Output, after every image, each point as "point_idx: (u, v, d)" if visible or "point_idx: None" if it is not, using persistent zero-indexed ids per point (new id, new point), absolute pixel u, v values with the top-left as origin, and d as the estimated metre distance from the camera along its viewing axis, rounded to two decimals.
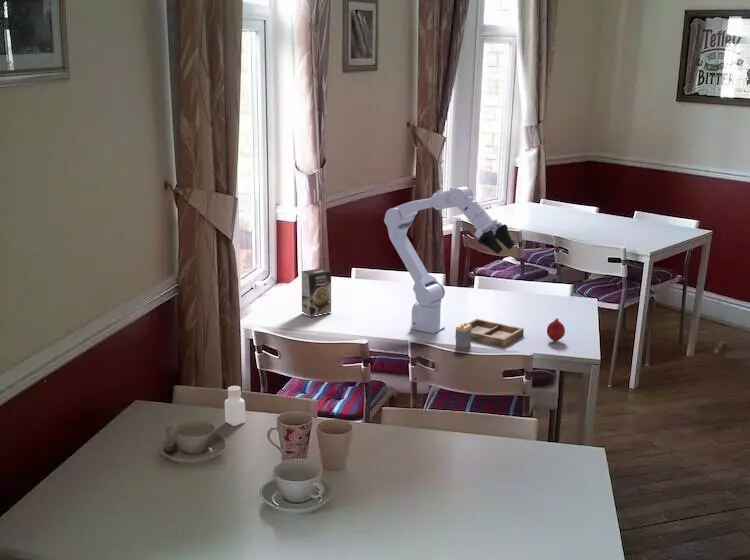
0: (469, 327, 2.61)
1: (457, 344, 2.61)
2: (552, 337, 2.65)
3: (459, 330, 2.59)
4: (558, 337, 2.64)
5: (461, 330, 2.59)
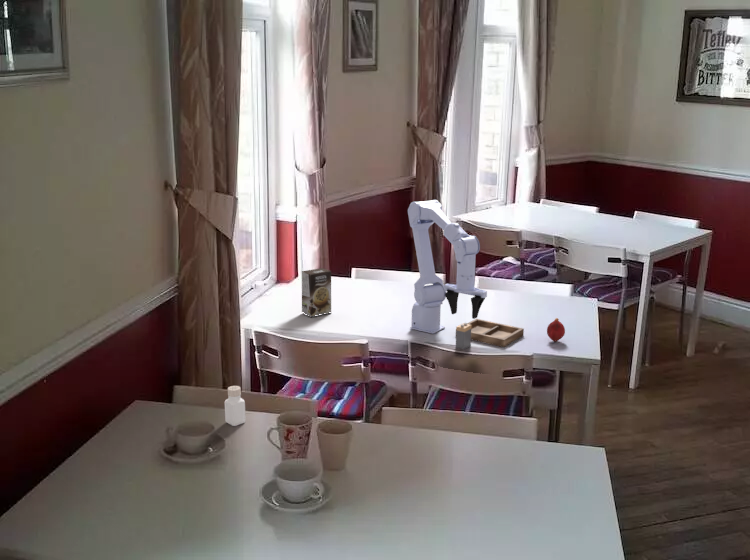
0: (469, 327, 2.61)
1: (457, 344, 2.61)
2: (552, 337, 2.65)
3: (459, 330, 2.59)
4: (558, 337, 2.64)
5: (461, 330, 2.59)
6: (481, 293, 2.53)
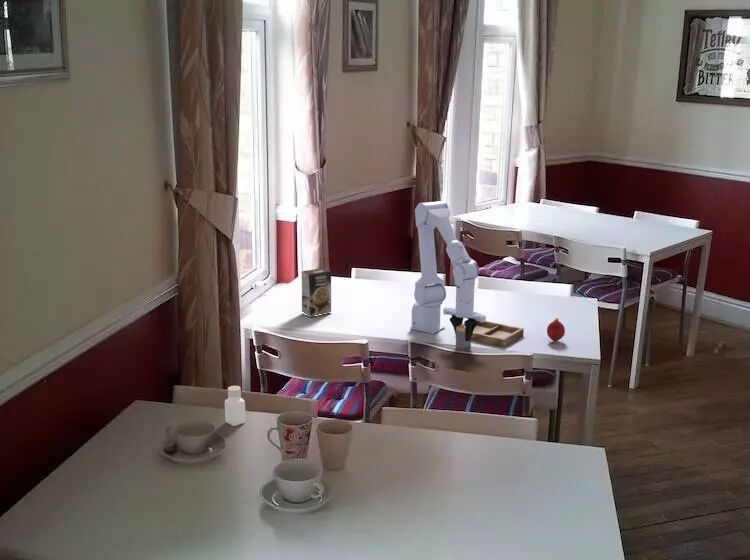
0: None
1: (457, 344, 2.61)
2: (552, 337, 2.65)
3: (459, 330, 2.59)
4: (558, 337, 2.64)
5: (461, 330, 2.59)
6: (480, 317, 2.55)
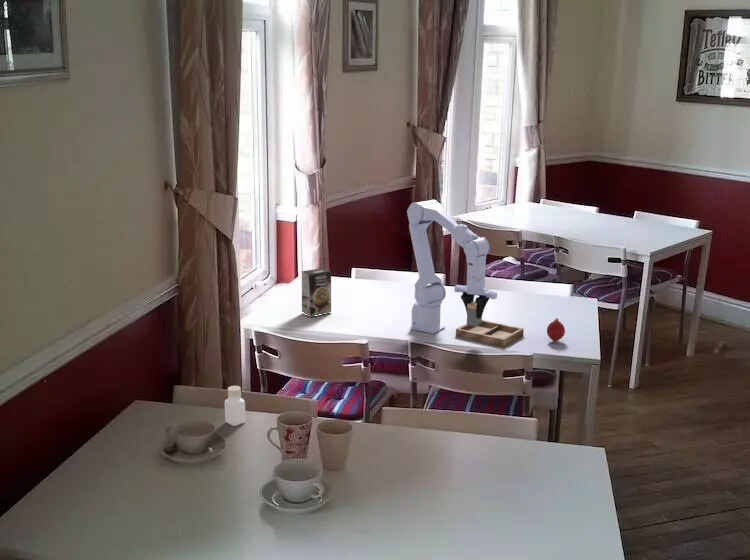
0: None
1: (468, 321, 2.61)
2: (552, 337, 2.65)
3: (470, 307, 2.59)
4: (558, 337, 2.64)
5: (472, 307, 2.59)
6: (491, 294, 2.55)
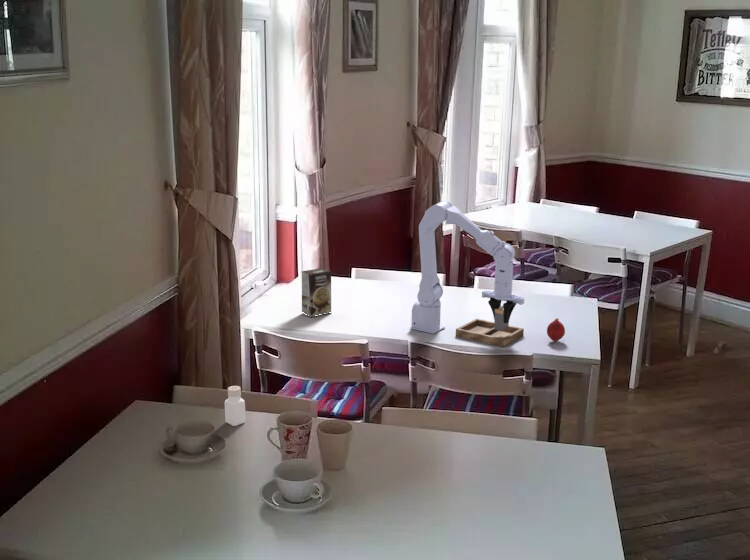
0: None
1: (495, 326, 2.67)
2: (552, 337, 2.65)
3: (498, 312, 2.66)
4: (558, 337, 2.64)
5: (500, 312, 2.65)
6: (519, 300, 2.61)
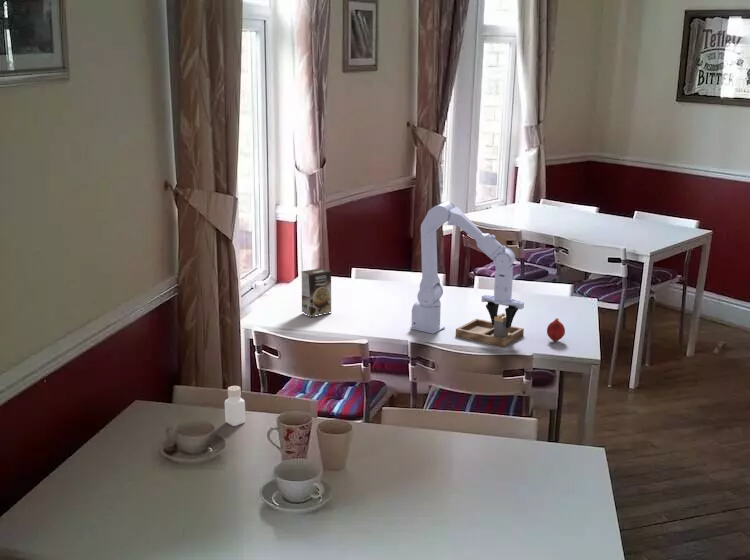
0: None
1: (495, 334, 2.68)
2: (552, 337, 2.65)
3: (497, 320, 2.66)
4: (558, 337, 2.64)
5: (499, 320, 2.66)
6: (518, 304, 2.62)
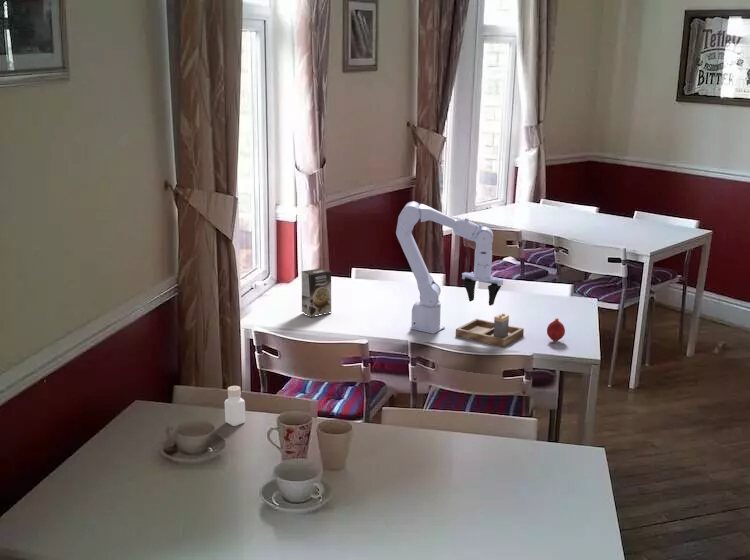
0: (507, 317, 2.68)
1: (495, 334, 2.68)
2: (552, 337, 2.65)
3: (497, 320, 2.66)
4: (558, 337, 2.64)
5: (499, 320, 2.66)
6: (497, 281, 2.67)
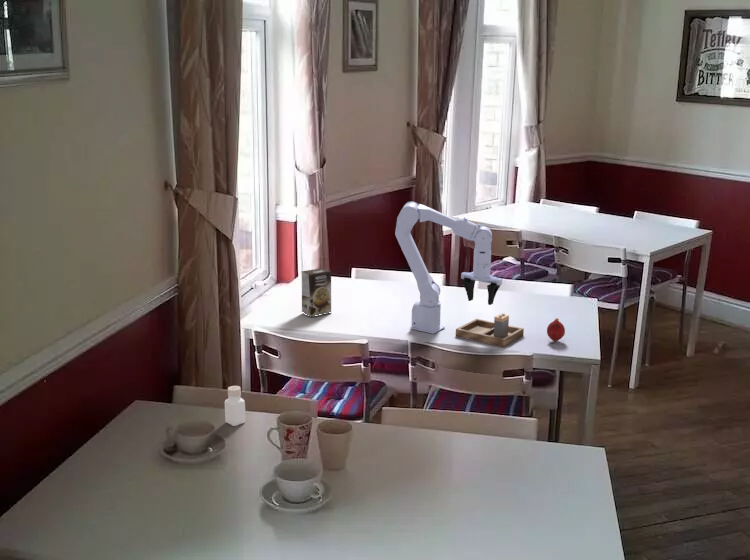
0: (507, 317, 2.68)
1: (495, 334, 2.68)
2: (552, 337, 2.65)
3: (497, 320, 2.66)
4: (558, 337, 2.64)
5: (499, 320, 2.66)
6: (497, 280, 2.67)
